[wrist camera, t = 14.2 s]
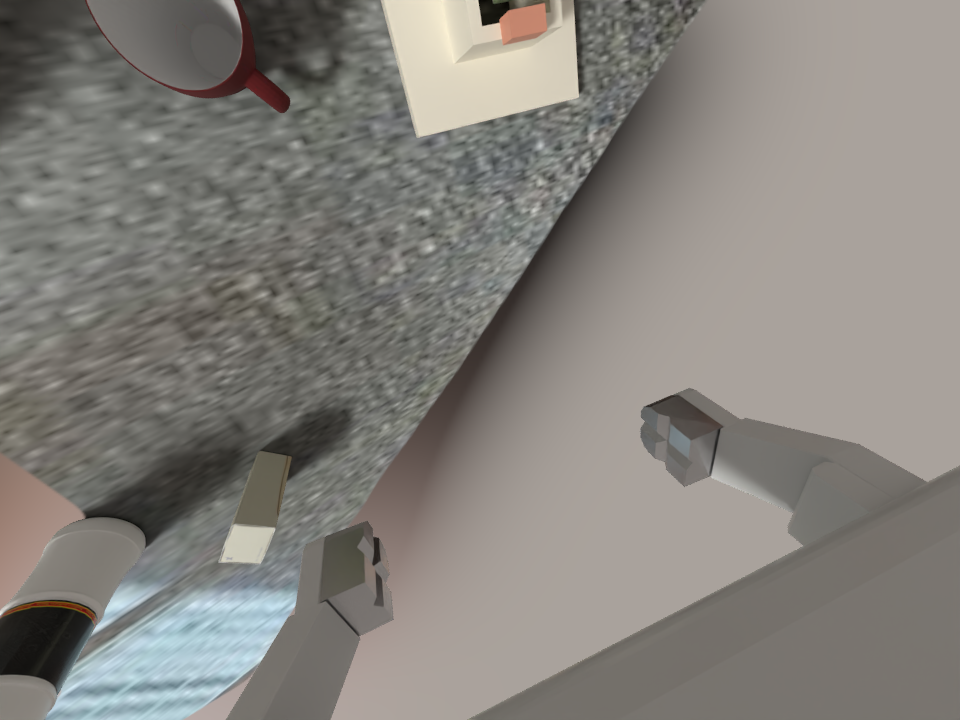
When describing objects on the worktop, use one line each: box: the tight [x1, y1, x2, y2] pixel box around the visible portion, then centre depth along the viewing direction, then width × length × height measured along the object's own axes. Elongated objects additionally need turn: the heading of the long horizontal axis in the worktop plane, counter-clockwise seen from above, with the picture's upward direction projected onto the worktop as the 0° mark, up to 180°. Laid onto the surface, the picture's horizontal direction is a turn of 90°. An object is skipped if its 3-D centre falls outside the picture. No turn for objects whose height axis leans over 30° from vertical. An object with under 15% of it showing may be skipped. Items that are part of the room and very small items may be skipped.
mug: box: [85, 0, 290, 113], centre depth 27 cm, size 11×8×10 cm
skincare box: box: [219, 451, 292, 564], centre depth 45 cm, size 6×4×12 cm
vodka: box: [0, 517, 146, 720], centre depth 35 cm, size 9×9×30 cm
